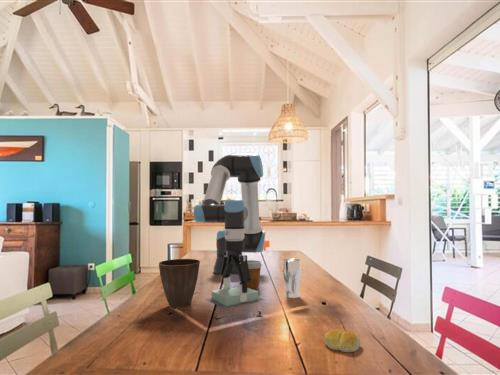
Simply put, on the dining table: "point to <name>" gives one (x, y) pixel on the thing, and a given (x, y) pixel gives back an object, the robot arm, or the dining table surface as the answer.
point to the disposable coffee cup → (254, 273)
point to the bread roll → (342, 340)
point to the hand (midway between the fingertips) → (234, 297)
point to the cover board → (233, 296)
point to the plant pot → (179, 280)
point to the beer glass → (292, 277)
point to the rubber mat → (231, 305)
